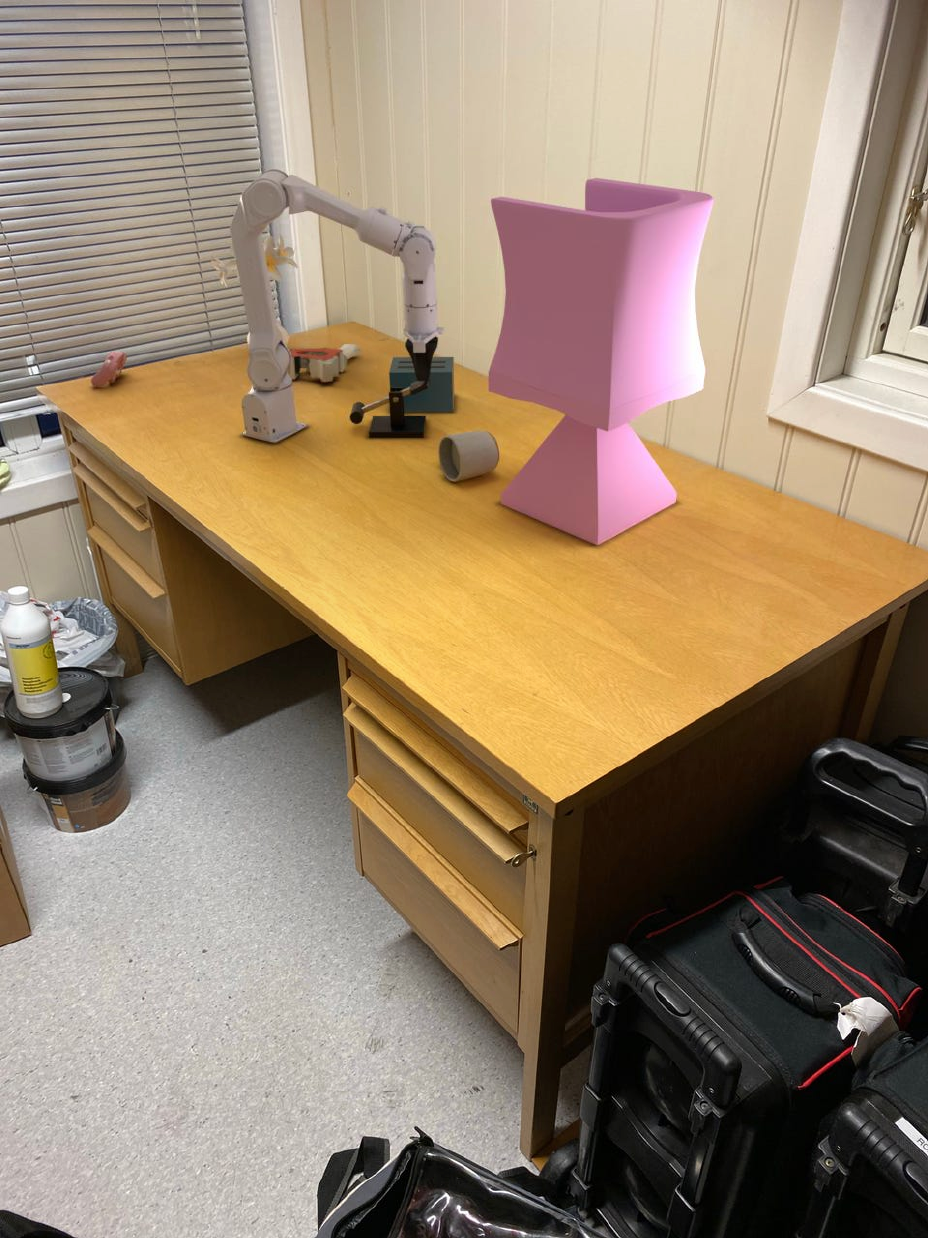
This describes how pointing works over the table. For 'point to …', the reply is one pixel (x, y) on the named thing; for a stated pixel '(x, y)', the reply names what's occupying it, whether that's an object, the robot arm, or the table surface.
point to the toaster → (440, 384)
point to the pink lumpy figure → (110, 369)
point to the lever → (384, 401)
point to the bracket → (397, 420)
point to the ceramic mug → (468, 454)
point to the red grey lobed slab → (321, 361)
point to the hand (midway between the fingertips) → (423, 379)
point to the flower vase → (273, 261)
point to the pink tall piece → (598, 344)
